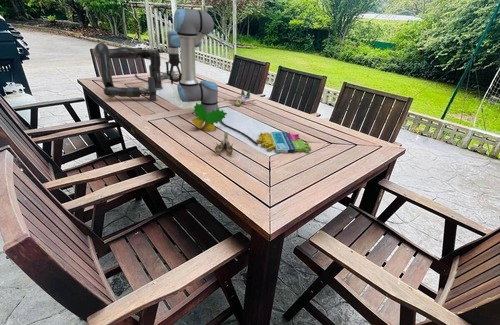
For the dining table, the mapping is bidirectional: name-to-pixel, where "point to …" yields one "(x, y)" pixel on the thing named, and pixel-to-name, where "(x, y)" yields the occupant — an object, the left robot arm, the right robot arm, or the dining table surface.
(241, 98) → the toy
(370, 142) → the dining table surface
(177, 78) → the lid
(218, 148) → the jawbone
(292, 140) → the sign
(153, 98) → the jar
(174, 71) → the airplane
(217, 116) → the ornament
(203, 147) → the dining table surface
